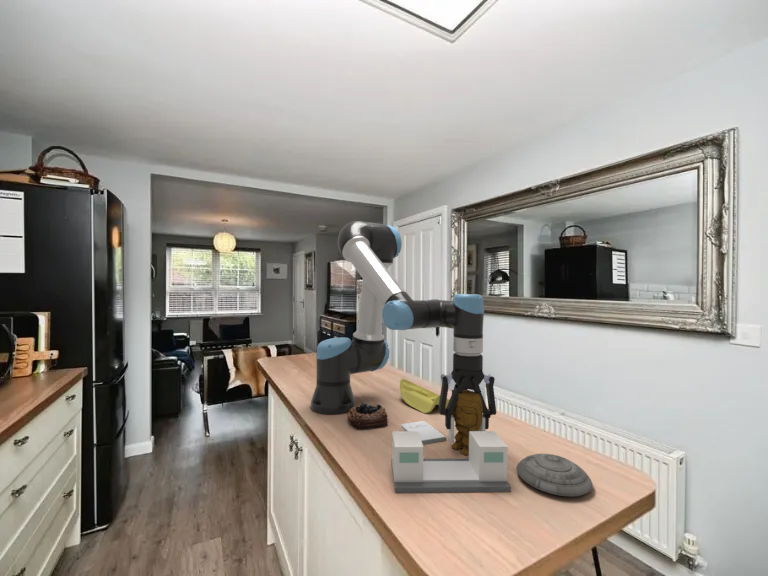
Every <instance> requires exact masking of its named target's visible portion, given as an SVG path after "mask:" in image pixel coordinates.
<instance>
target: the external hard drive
mask: <svg viewBox="0 0 768 576" xmlns="http://www.w3.org/2000/svg"><path fill="white" fill-rule="evenodd" d="M400 429H402V431H418V432H419V435H420V438H421V441H422V444H423V445H426V444H427V445H428V444H432V443H434V444H435V443H438V442H445V441H447V437H446V436H445V435H444V434H442V432H440V431H438V430H437V429H436V428H435V427H433V426H432V425H430V424H429V423H428V422H427V421H424V420H420V421H415V422H405V423H402V424H400Z"/></svg>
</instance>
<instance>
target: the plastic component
mask: <svg viewBox="0 0 768 576" xmlns="http://www.w3.org/2000/svg"><path fill="white" fill-rule="evenodd" d="M399 389H400V390H399V391H400V395H401V398H402V400H403V401H404V402H405V403H406V404H407V405H409V406H410V407H412V408H414V409H416V410H417V411H419V412H420V413H423V414H430V413H431V412H432V411H433V409H434V408H435V406H439V400H440V394H438V393H436V392H433V391H431V390H429V389H428V388H425V387H423V386H420V385H418V384H416V383H415V382H414V383H413V382H411V381H409V380H408V379H404V378H400V380H399ZM449 400H450V398H447V400H446V407H447V405H448V403H449ZM446 407H445V409H446Z"/></svg>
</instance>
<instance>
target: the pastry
mask: <svg viewBox="0 0 768 576" xmlns="http://www.w3.org/2000/svg"><path fill="white" fill-rule="evenodd" d="M347 421H348V423H349V425H350V426H351V427H353V429H356V430H357V431H362V430H363V431H364V430H372V429H378V428H379V429H381V428H384V429H385V427H388V425H389V422H388V413H387V412H386V409H385V408H384V407H383V406H382V405H381V404H380V403H374V404H370V405H368V403H366V402H362V403H361V404H360V405H355V407H352V408H351V409H350V410H349V411H348V412H347Z"/></svg>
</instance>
